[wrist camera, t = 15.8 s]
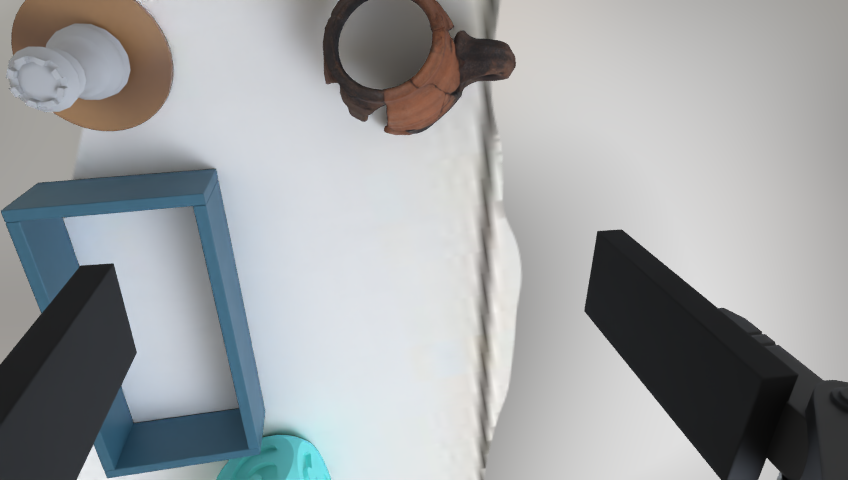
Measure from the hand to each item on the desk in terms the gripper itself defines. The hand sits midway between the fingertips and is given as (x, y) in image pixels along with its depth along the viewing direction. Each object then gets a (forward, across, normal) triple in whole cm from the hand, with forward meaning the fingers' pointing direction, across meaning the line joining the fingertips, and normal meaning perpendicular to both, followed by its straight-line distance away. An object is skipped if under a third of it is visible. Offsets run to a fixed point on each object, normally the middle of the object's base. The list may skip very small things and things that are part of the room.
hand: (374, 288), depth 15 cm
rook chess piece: (+26, -15, +3) cm, 30 cm away
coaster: (+26, -15, +3) cm, 30 cm away
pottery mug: (+26, +5, +3) cm, 27 cm away
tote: (+26, -14, -16) cm, 34 cm away
